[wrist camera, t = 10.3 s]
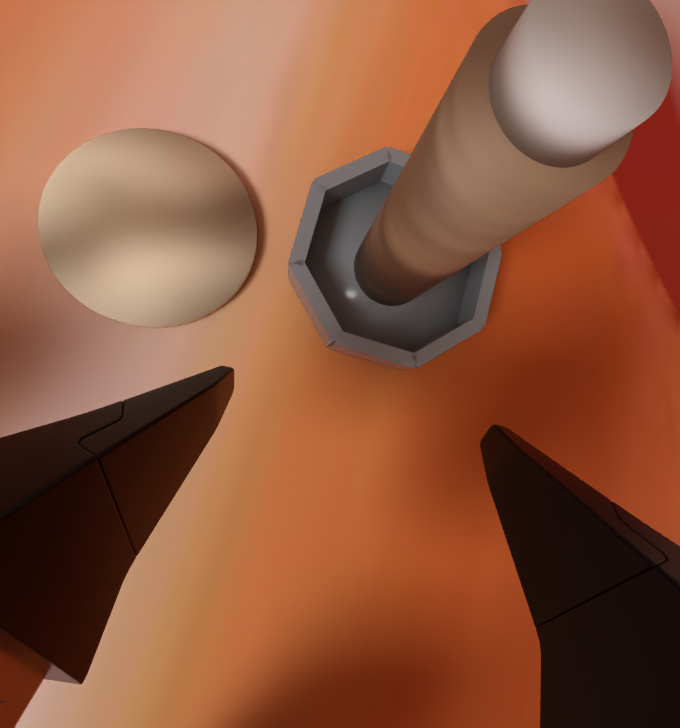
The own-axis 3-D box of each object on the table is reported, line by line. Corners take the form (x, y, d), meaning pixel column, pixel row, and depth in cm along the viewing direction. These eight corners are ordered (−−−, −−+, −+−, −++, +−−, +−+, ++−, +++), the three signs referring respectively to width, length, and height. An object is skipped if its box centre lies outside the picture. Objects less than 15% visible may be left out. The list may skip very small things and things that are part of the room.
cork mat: (291, 274, 19) (291, 271, 18) (111, 363, 17) (106, 363, 17) (198, 106, 18) (195, 99, 18) (3, 180, 17) (-6, 174, 16)
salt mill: (430, 303, 20) (709, 158, 7) (358, 308, 19) (515, 157, 6) (421, 230, 20) (679, -51, 7) (349, 232, 19) (486, -80, 6)
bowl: (502, 309, 21) (529, 301, 19) (354, 397, 19) (364, 399, 17) (419, 153, 21) (436, 123, 18) (259, 226, 19) (255, 205, 16)
